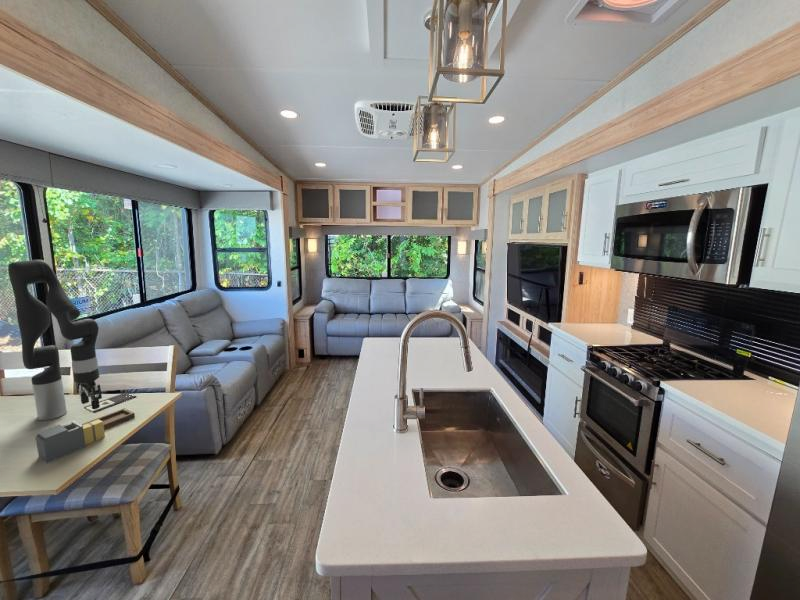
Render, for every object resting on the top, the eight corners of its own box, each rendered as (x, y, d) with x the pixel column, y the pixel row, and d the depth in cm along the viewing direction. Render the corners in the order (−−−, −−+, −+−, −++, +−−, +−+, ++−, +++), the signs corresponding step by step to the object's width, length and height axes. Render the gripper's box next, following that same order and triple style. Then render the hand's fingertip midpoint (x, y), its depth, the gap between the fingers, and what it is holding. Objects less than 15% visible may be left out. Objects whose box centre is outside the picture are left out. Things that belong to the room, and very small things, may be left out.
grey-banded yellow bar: (59, 451, 128) (56, 434, 127) (100, 434, 140) (98, 419, 139) (63, 453, 127) (61, 437, 126) (104, 436, 138) (102, 421, 137)
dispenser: (38, 457, 124) (34, 433, 123) (77, 441, 134) (74, 419, 133) (47, 463, 122) (43, 439, 120) (85, 446, 132) (82, 424, 130)
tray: (75, 431, 141) (74, 426, 140) (124, 412, 157) (124, 408, 157) (85, 437, 137) (84, 432, 137) (134, 417, 153) (134, 412, 153)
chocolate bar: (136, 395, 172) (94, 411, 155) (137, 397, 172) (94, 413, 156) (126, 392, 175) (84, 406, 159) (127, 393, 175) (84, 408, 159)
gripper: (64, 368, 131) (70, 405, 134) (82, 375, 125) (87, 414, 128) (88, 362, 137) (93, 397, 140) (106, 369, 132) (111, 406, 135)
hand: (90, 405), depth 134 cm, fingers open, 8 cm apart
